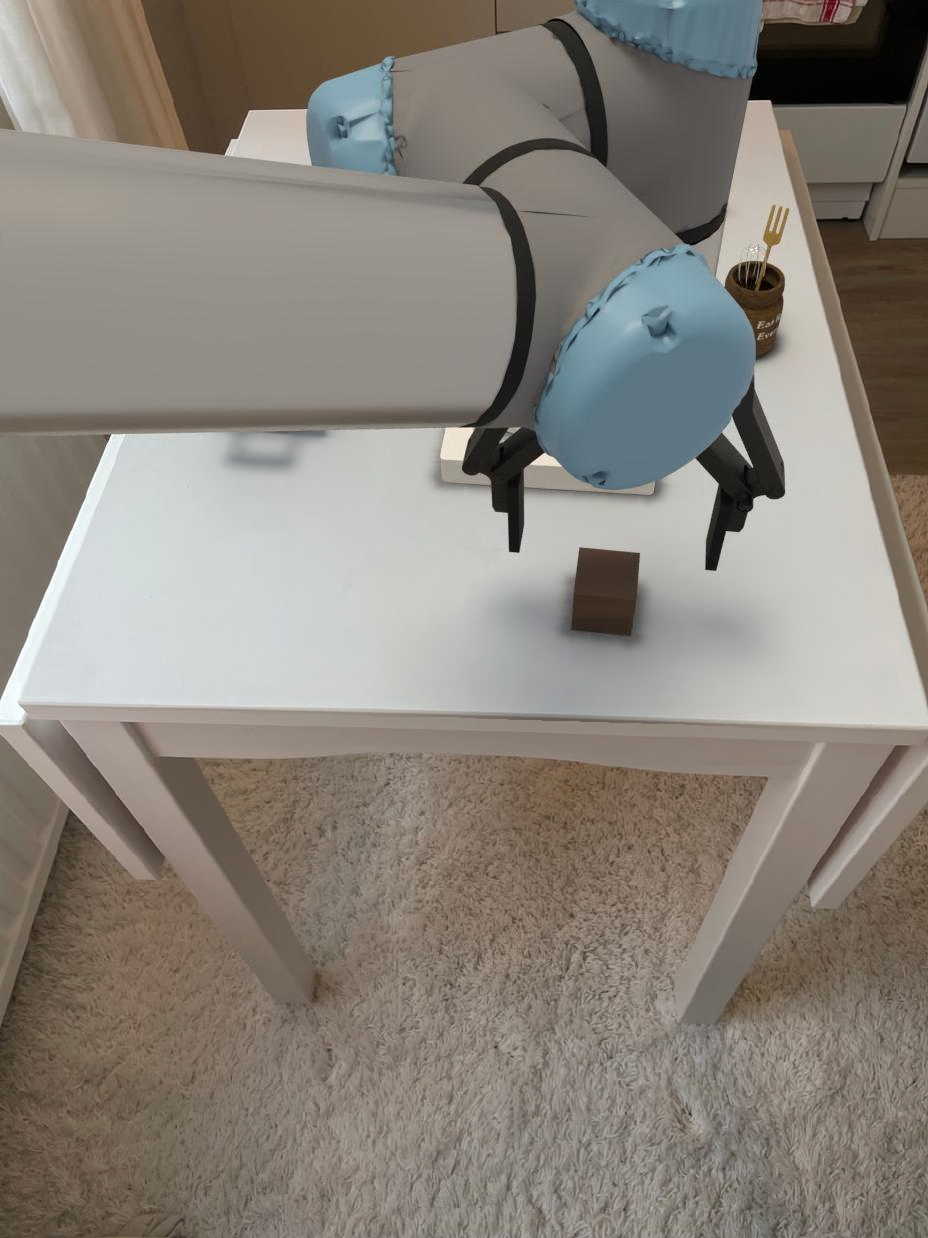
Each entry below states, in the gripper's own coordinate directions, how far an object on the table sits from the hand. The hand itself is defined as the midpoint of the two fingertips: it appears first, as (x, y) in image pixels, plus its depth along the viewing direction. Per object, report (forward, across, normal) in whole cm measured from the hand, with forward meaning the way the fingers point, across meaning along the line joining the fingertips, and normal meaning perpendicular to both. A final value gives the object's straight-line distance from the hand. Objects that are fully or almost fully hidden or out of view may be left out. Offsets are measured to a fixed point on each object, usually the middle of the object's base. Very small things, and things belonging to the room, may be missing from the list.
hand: (612, 547), depth 67 cm
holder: (+8, +7, -35) cm, 36 cm away
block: (+7, 0, 0) cm, 7 cm away
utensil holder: (+8, -10, -34) cm, 36 cm away
